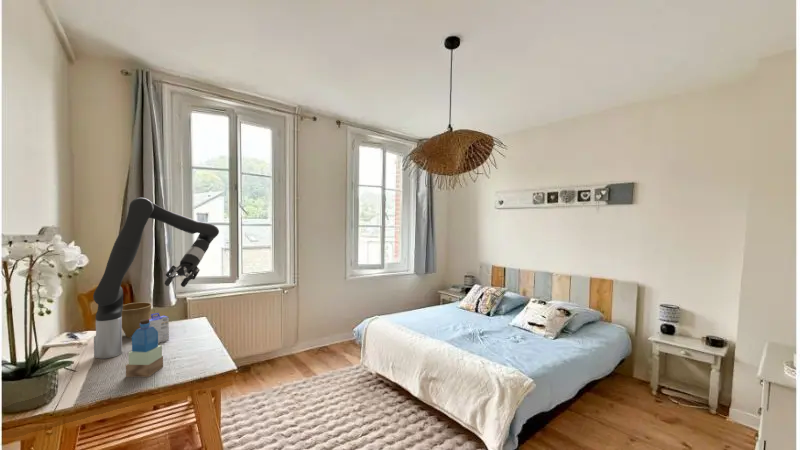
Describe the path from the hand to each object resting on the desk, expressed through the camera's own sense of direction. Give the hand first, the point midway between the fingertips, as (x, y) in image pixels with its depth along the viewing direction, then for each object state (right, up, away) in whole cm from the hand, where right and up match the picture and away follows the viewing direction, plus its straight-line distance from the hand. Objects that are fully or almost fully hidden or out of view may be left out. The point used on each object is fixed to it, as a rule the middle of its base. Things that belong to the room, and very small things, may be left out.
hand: (174, 285), depth 160 cm
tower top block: (-1, -28, -16) cm, 33 cm away
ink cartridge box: (-20, -32, +17) cm, 42 cm away
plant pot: (-38, -32, +26) cm, 56 cm away
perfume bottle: (-1, -24, -16) cm, 29 cm away
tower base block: (-2, -33, -16) cm, 37 cm away
